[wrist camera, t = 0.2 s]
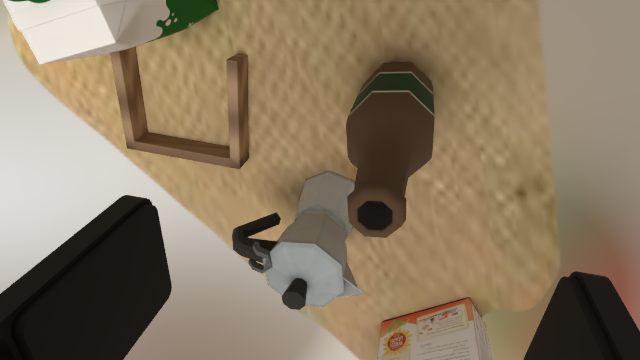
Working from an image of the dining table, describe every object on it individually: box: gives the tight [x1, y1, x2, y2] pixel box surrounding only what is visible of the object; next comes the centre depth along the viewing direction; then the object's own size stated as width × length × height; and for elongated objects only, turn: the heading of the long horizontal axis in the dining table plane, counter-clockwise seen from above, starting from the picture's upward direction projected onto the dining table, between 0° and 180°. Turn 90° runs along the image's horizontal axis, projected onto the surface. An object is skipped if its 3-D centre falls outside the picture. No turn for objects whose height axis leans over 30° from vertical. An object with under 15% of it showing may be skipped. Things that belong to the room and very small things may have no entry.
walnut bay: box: [110, 47, 249, 169], centre depth 49 cm, size 13×15×3 cm
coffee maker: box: [232, 171, 364, 310], centre depth 45 cm, size 15×9×18 cm, turn 73°
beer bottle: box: [346, 63, 434, 238], centre depth 34 cm, size 8×8×24 cm
